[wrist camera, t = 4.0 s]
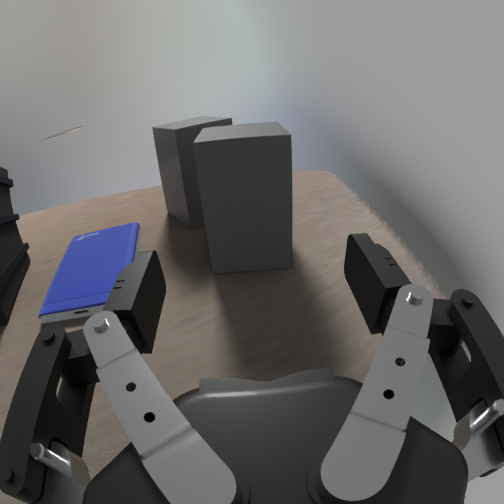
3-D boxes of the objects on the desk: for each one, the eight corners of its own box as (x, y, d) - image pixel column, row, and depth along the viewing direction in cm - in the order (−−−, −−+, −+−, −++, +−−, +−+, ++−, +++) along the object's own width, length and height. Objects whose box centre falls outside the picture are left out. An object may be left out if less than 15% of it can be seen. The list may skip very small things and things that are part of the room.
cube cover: (291, 267, 22) (291, 134, 17) (213, 273, 22) (193, 142, 17) (281, 229, 27) (277, 122, 22) (216, 234, 27) (203, 128, 22)
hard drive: (71, 237, 27) (36, 314, 17) (138, 220, 29) (127, 297, 19) (75, 249, 28) (45, 328, 18) (142, 233, 30) (134, 313, 20)
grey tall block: (191, 229, 29) (174, 129, 23) (167, 211, 33) (152, 127, 27) (240, 209, 31) (231, 118, 26) (211, 195, 36) (201, 116, 30)
